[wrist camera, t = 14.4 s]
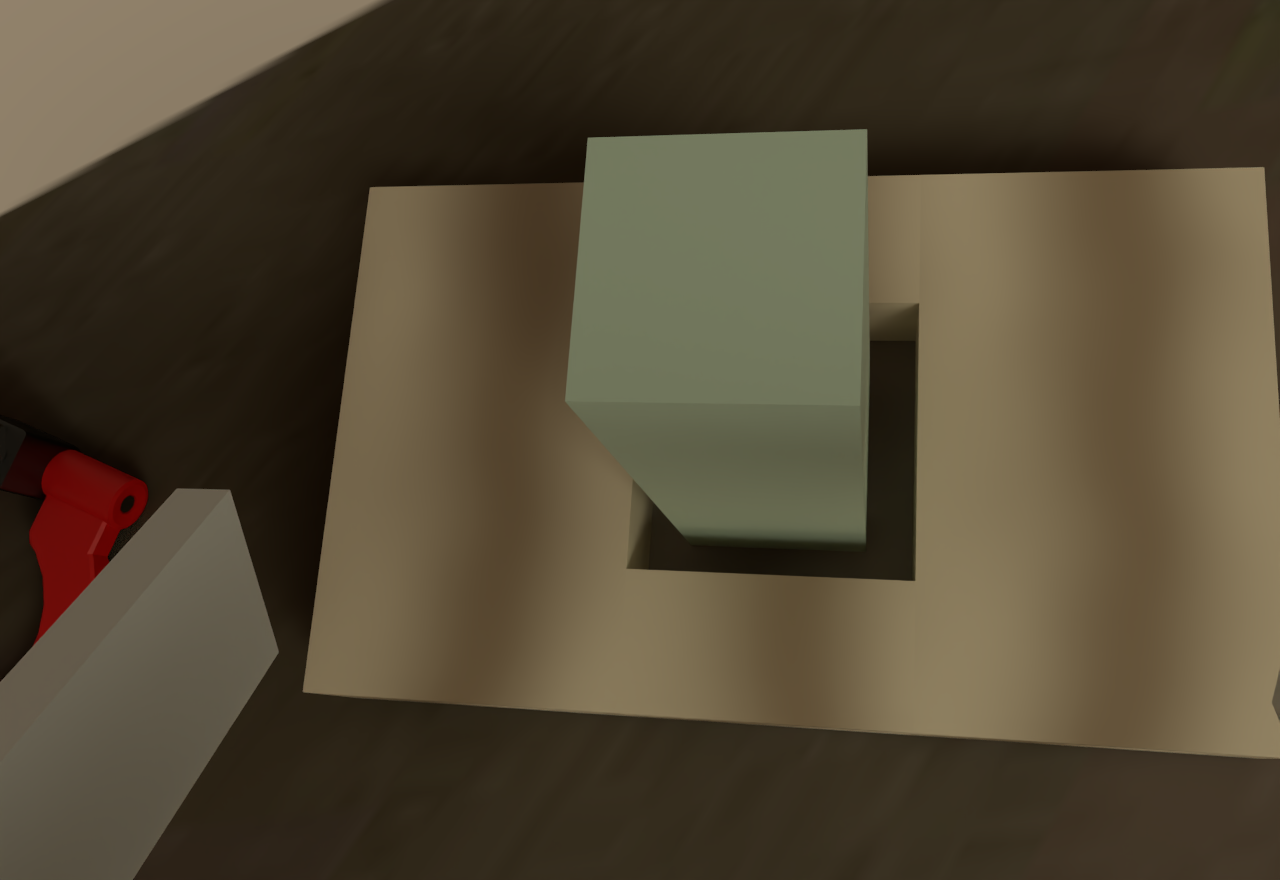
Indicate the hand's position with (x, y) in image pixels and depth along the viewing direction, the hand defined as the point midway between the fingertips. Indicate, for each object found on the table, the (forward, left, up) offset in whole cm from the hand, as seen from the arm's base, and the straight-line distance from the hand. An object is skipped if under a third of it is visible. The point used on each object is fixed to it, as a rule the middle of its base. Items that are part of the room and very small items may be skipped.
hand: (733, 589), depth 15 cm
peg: (0, +5, -12) cm, 13 cm away
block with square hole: (0, +5, -13) cm, 14 cm away
